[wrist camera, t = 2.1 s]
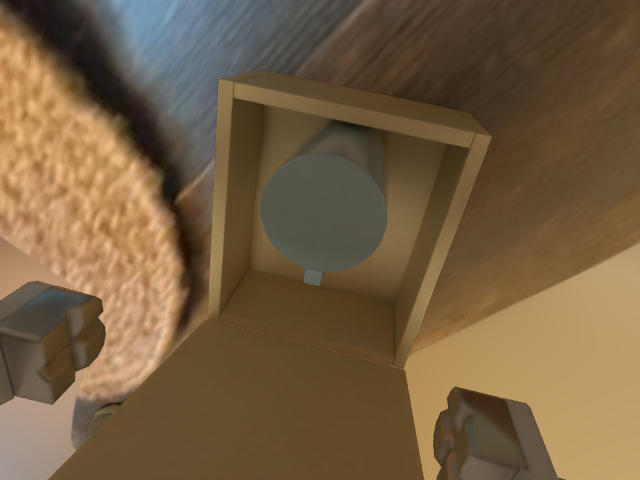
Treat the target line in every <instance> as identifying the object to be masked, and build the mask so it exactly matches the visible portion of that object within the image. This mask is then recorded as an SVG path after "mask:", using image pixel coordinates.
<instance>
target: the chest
mask: <svg viewBox="0 0 640 480" xmlns="http://www.w3.org/2000/svg"><path fill="white" fill-rule="evenodd" d="M323 118H329V119H334V120H339V121H343V122H348V123H353V124H357V125H362V126H367V127H371V128H376V129H381V130H385V132H386V133H387V136H388V139H389V143H390V165H389V189H388V213H387V226H386V231H385V234H384V237H383V239H382V241H381V243H380V245H379V246H378V248H377V249H376V250H375V252H374V253H373V254H372V255H371V256H370V257H368V258H367V259H366V260H365V261H363V262H362V263H360V264H358V265H357V266H354V267H352V268H349V269H346V270H343V271H337V272H325V274H324V277H323V278H322V282H321V285H320V286H316V285H312V284H308V283H304V282H303V279H304V273H305V268H303V267H301V266H299V265H296V264H295V263H293V262H291V261H290V260H288V259H287V258H285V257H284V256H283V255H282V254H281V253H280V252H279V251H278V250H277V249H276V248H275V247H274V246H273V244H272V243H271V241H270V240H269V238H268V236H267V234H266V232H265V230H264V227H263V224H262V220H261V212H260V206H261V198H262V194H263V191H264V188H265V186H266V184H267V182H268V180H269V179H270V177H271V176H272V174H273V173H274V172H275V171H276V170H277V169H278V168H279V167H280V166H281V164H282V163H283V162H284V161H285V160H286V159H287V158H288V157H289V156H290V154H291V153H292V152H293V151H294V150H295V149H296V148H297V147H298V145H299V144H300V143H301V142H302V141H303V140H304V139H305V138H306V137H307V135H308V134H309V133H310V132H311V131H312V130H313V129H314V128H315V127H316V125H317V124H318V123H319V122H320V121H321V120H322V119H323ZM491 138H492V136H491V135H490V134H489V133H488V132H487V131H486V130H485V129H484V128H483V127H482V126H481V125H480V124H479V123H478V122H477V121H476V120H475V119H474V118H473V117H472V116H471V115H470V113H468V112H464V111H459V110H455V109H450V108H445V107H440V106H435V105H430V104H426V103H421V102H416V101H411V100H406V99H401V98H397V97H392V96H387V95H382V94H377V93H372V92H368V91H363V90H358V89H353V88H348V87H343V86H339V85H334V84H329V83H324V82H319V81H315V80H310V79H305V78H300V77H295V76H290V75H286V74H281V73H276V72H271V71H266V70H261V69H259V70H255V71H251V72H246V73H242V74H238V75H233V76H229V77H225V78H220V79H219V89H218V110H217V132H216V154H215V176H214V197H213V219H212V241H211V263H210V284H209V306H208V320H212V321H216V322H220V323H224V324H228V325H232V326H236V327H240V328H244V329H248V330H252V331H256V332H260V333H264V334H268V335H272V336H275V337H279V338H283V339H287V340H291V341H295V342H299V343H303V344H307V345H311V346H315V347H319V348H323V349H327V350H331V351H335V352H338V353H342V354H346V355H350V356H354V357H358V358H362V359H366V360H370V361H374V362H378V363H382V364H386V365H390V366H391V365H392V366H394V367H398V368H401V369H403V368H404V366H405V363H406V361H407V358H408V356H409V353H410V350H411V348H412V345H413V343H414V340H415V337H416V335H417V332H418V329H419V327H420V324H421V322H422V319H423V316H424V314H425V311H426V308H427V306H428V303H429V301H430V298H431V295H432V293H433V290H434V288H435V285H436V282H437V280H438V277H439V274H440V272H441V269H442V267H443V264H444V261H445V259H446V256H447V253H448V251H449V248H450V246H451V243H452V240H453V238H454V235H455V232H456V230H457V227H458V225H459V222H460V219H461V217H462V214H463V211H464V209H465V206H466V204H467V201H468V198H469V196H470V193H471V190H472V188H473V185H474V183H475V180H476V177H477V175H478V172H479V170H480V167H481V164H482V162H483V159H484V156H485V154H486V151H487V149H488V146H489V143H490V141H491Z"/></svg>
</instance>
